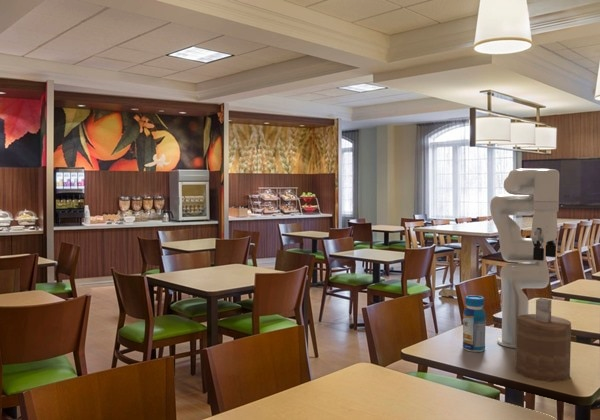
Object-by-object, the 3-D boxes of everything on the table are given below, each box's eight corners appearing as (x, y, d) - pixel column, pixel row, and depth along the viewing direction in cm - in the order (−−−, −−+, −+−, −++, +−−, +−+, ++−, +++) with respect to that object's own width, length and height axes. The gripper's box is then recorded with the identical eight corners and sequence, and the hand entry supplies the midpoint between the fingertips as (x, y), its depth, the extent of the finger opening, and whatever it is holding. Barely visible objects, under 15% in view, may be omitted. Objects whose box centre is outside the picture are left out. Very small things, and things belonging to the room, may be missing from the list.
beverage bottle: (484, 353, 201) (485, 300, 200) (461, 351, 205) (462, 298, 203) (486, 347, 209) (487, 295, 208) (463, 344, 212) (464, 293, 211)
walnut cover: (528, 360, 194) (529, 292, 193) (577, 372, 182) (579, 299, 181) (506, 371, 183) (508, 299, 181) (557, 385, 171) (559, 308, 169)
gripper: (545, 205, 188) (543, 254, 189) (523, 207, 176) (521, 260, 177) (567, 206, 183) (566, 256, 184) (546, 208, 171) (545, 262, 172)
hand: (544, 258), depth 180 cm, fingers open, 9 cm apart
